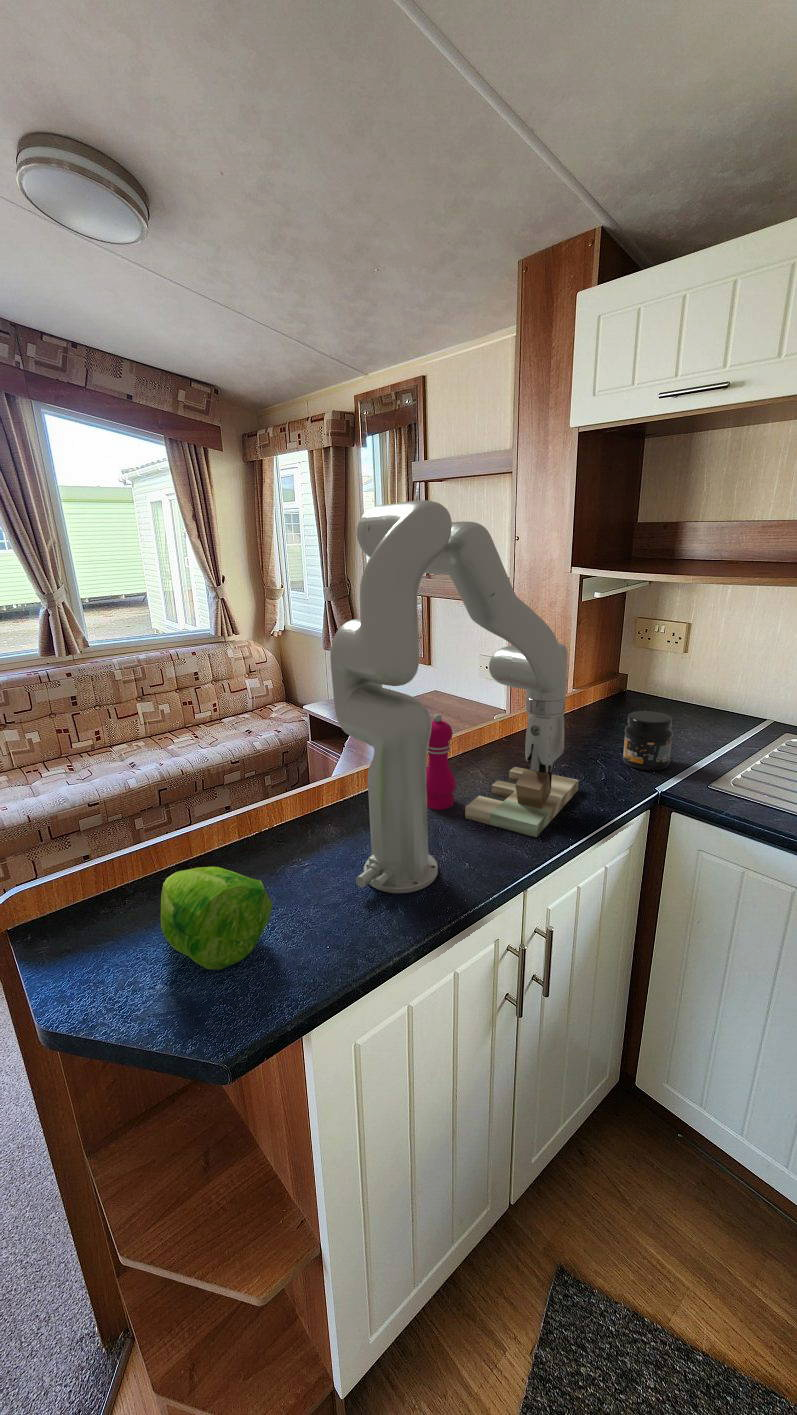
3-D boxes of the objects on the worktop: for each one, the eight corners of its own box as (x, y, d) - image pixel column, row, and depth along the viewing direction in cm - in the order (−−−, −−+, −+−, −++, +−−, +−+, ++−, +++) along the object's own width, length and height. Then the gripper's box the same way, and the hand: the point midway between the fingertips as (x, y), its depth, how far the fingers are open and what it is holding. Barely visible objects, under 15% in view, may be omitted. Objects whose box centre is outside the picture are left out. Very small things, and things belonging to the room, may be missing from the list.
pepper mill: (454, 812, 118) (453, 720, 112) (419, 810, 119) (417, 719, 114) (457, 796, 125) (457, 709, 119) (424, 795, 126) (422, 708, 120)
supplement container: (613, 759, 142) (616, 713, 139) (649, 753, 145) (653, 708, 141) (641, 774, 132) (645, 725, 129) (679, 768, 135) (684, 720, 132)
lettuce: (219, 893, 93) (209, 828, 90) (293, 949, 80) (285, 874, 76) (133, 936, 84) (119, 865, 80) (201, 1008, 70) (187, 925, 67)
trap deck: (536, 837, 107) (536, 825, 106) (465, 818, 115) (465, 806, 114) (577, 790, 126) (578, 779, 125) (514, 776, 134) (514, 766, 133)
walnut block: (541, 809, 112) (539, 790, 110) (518, 803, 115) (515, 784, 112) (550, 792, 116) (548, 773, 113) (527, 787, 118) (524, 768, 116)
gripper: (550, 718, 105) (546, 808, 110) (576, 698, 117) (572, 780, 122) (512, 712, 109) (510, 799, 114) (541, 693, 121) (538, 773, 126)
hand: (542, 789), depth 118 cm, fingers closed
